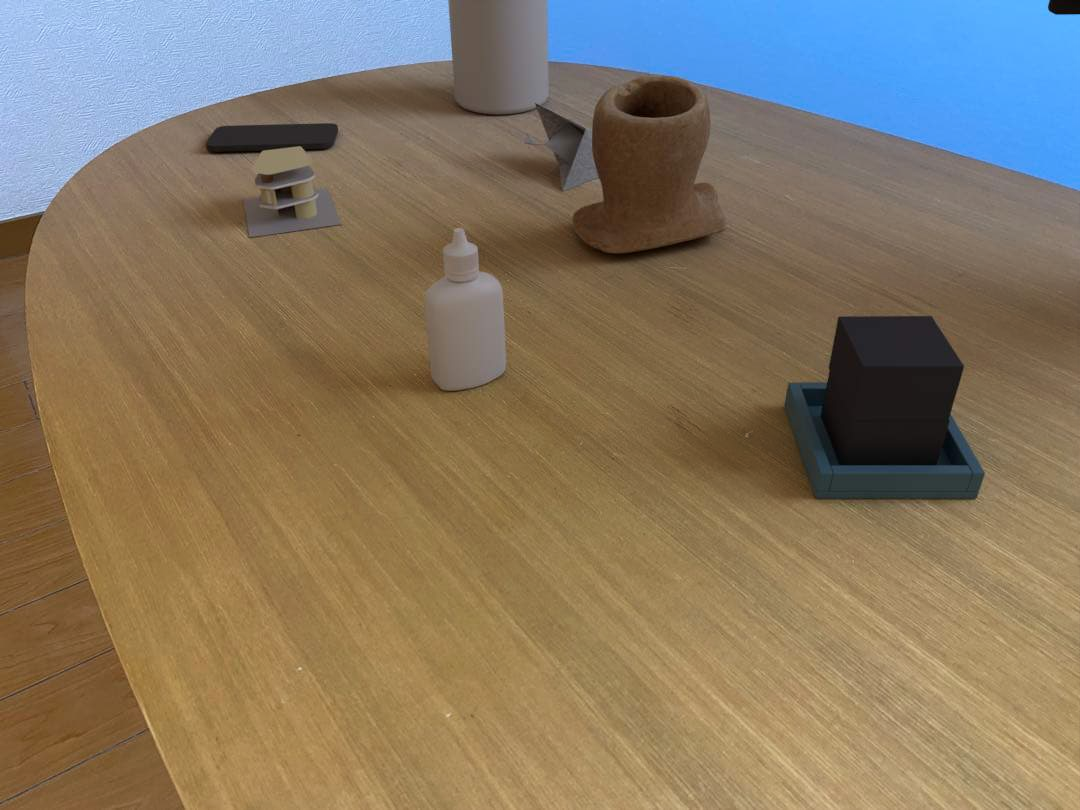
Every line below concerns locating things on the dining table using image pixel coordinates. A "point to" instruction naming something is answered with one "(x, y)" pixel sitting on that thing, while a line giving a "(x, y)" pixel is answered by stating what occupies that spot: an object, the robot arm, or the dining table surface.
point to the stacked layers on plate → (287, 195)
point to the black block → (894, 368)
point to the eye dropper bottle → (465, 321)
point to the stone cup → (650, 167)
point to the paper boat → (568, 147)
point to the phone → (272, 137)
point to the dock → (830, 480)
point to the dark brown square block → (879, 436)
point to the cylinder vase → (499, 54)
